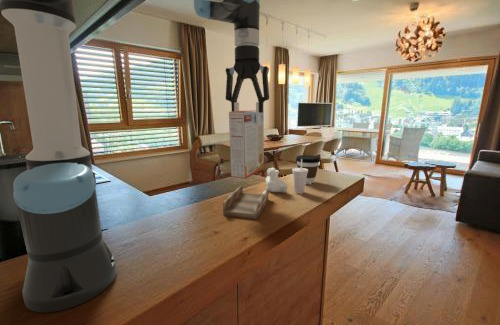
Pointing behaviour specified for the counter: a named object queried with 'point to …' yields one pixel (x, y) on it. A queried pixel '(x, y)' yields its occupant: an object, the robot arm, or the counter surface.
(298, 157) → the coffee cup
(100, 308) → the counter surface
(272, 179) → the bust
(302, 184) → the smoothie
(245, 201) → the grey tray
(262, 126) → the cracker box
